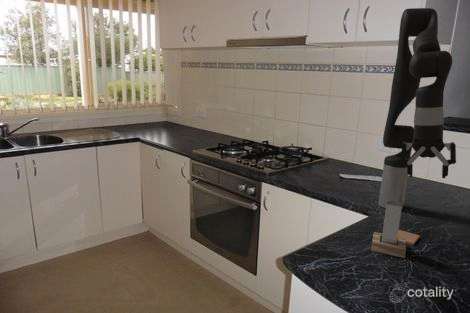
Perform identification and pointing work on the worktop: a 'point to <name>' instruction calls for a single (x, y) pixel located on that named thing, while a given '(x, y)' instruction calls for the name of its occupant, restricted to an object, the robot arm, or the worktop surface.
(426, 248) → the worktop surface
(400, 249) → the socket block
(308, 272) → the worktop surface
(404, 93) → the robot arm
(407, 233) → the tile
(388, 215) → the grey tapered block
